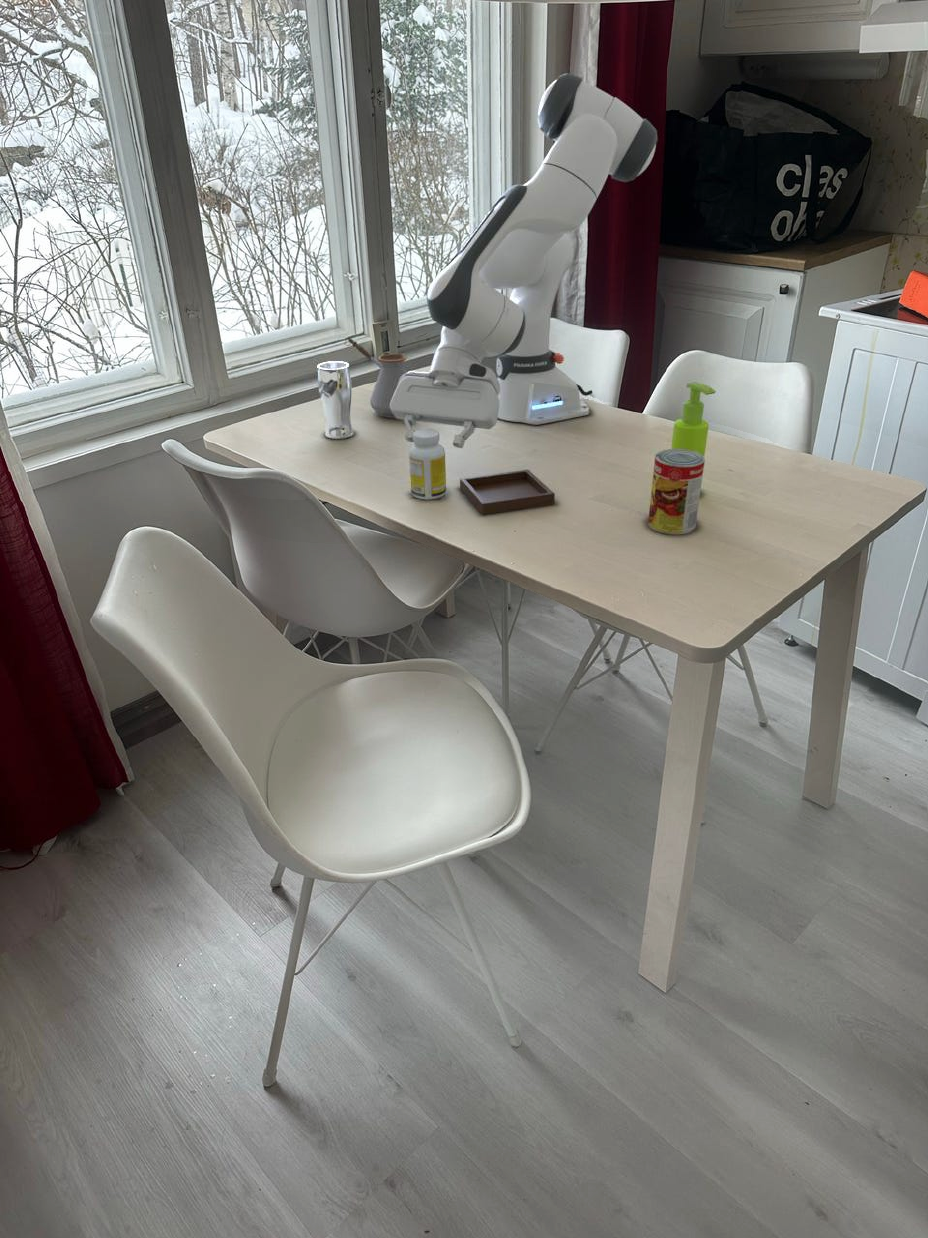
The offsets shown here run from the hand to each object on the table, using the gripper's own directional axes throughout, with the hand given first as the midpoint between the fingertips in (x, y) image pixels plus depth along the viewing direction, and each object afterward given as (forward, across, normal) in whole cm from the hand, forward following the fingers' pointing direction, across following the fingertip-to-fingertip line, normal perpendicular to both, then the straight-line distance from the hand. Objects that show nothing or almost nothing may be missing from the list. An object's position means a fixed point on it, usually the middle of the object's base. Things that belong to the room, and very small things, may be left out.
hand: (433, 443), depth 154 cm
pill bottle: (+8, -1, +5) cm, 10 cm away
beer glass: (-9, -33, +22) cm, 41 cm away
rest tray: (+5, +13, +8) cm, 16 cm away
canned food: (+6, +44, +7) cm, 45 cm away
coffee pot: (-23, -33, +36) cm, 54 cm away
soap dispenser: (-4, +43, +17) cm, 47 cm away
